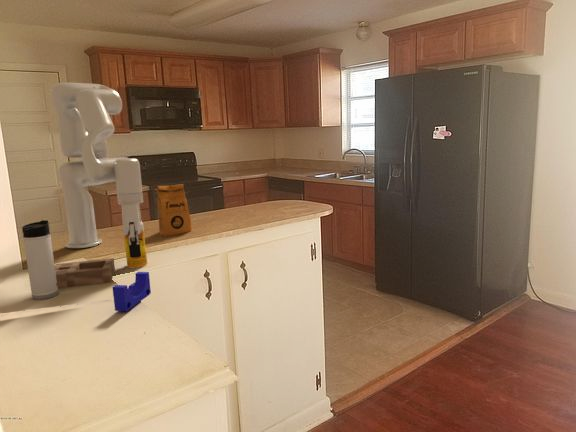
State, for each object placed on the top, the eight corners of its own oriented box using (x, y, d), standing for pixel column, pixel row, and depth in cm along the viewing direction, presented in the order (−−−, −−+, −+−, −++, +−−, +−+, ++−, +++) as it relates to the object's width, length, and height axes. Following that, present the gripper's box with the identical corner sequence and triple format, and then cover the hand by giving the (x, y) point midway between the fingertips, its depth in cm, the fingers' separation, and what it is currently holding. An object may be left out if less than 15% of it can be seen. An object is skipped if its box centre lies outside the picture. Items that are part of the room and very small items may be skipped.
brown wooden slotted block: (57, 276, 138) (55, 264, 137) (115, 270, 142) (113, 258, 142) (47, 289, 127) (46, 275, 126) (110, 282, 131) (109, 268, 130)
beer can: (136, 271, 141) (131, 223, 138) (123, 268, 144) (118, 222, 141) (151, 265, 146) (147, 220, 143) (138, 263, 149) (134, 218, 146)
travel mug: (64, 292, 124) (55, 220, 120) (44, 300, 118) (33, 225, 114) (47, 290, 126) (37, 219, 122) (26, 298, 120) (15, 224, 116)
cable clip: (135, 293, 121) (133, 271, 120) (150, 293, 120) (148, 272, 119) (109, 310, 110) (106, 286, 109) (126, 311, 109) (123, 287, 108)
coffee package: (193, 239, 182) (189, 184, 178) (162, 242, 177) (157, 187, 173) (189, 234, 191) (185, 182, 187) (159, 238, 186) (154, 184, 182)
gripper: (120, 196, 148) (126, 249, 152) (114, 203, 132) (121, 262, 135) (144, 194, 150) (149, 246, 153) (141, 201, 134) (147, 260, 137)
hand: (136, 253), depth 144 cm, fingers closed on beer can, 6 cm apart
